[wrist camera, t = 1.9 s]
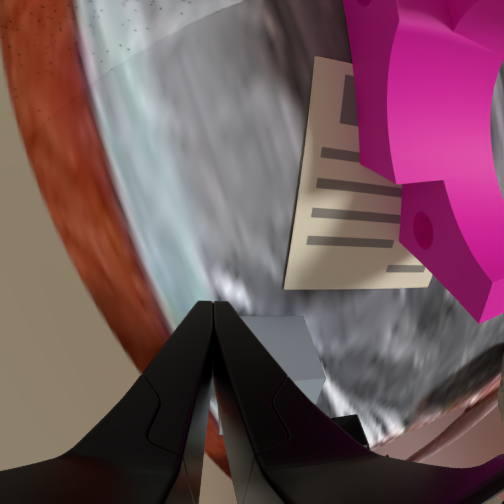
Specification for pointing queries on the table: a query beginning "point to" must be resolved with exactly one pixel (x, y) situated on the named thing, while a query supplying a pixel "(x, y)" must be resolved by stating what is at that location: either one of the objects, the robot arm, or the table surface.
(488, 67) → the toy block
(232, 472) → the robot arm
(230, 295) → the table surface
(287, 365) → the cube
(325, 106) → the letter
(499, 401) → the fossil replica
